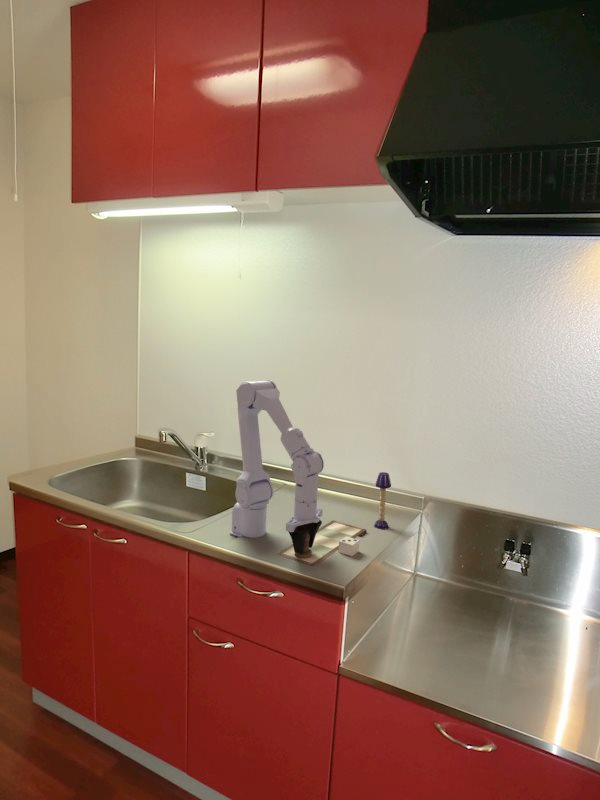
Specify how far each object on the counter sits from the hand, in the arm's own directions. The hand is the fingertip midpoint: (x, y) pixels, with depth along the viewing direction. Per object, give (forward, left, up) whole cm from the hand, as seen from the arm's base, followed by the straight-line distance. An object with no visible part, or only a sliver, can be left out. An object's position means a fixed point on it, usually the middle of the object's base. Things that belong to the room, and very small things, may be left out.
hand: (303, 549), depth 135 cm
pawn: (0, 0, -1) cm, 1 cm away
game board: (0, +11, -2) cm, 11 cm away
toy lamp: (+7, +33, -2) cm, 34 cm away
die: (+8, +9, -2) cm, 13 cm away
